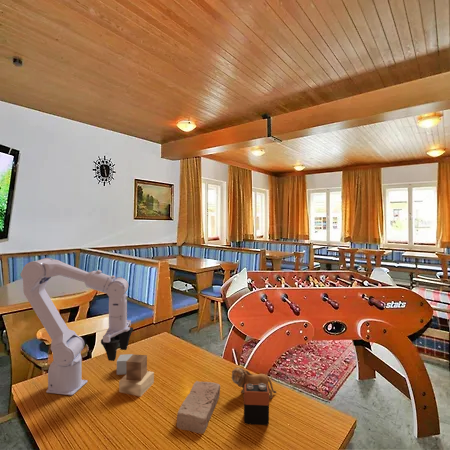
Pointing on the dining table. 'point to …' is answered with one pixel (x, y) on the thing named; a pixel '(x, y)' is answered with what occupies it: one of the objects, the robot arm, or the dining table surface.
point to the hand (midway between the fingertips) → (117, 354)
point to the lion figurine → (250, 379)
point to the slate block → (122, 363)
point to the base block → (136, 385)
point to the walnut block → (136, 367)
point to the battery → (256, 404)
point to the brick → (198, 407)
